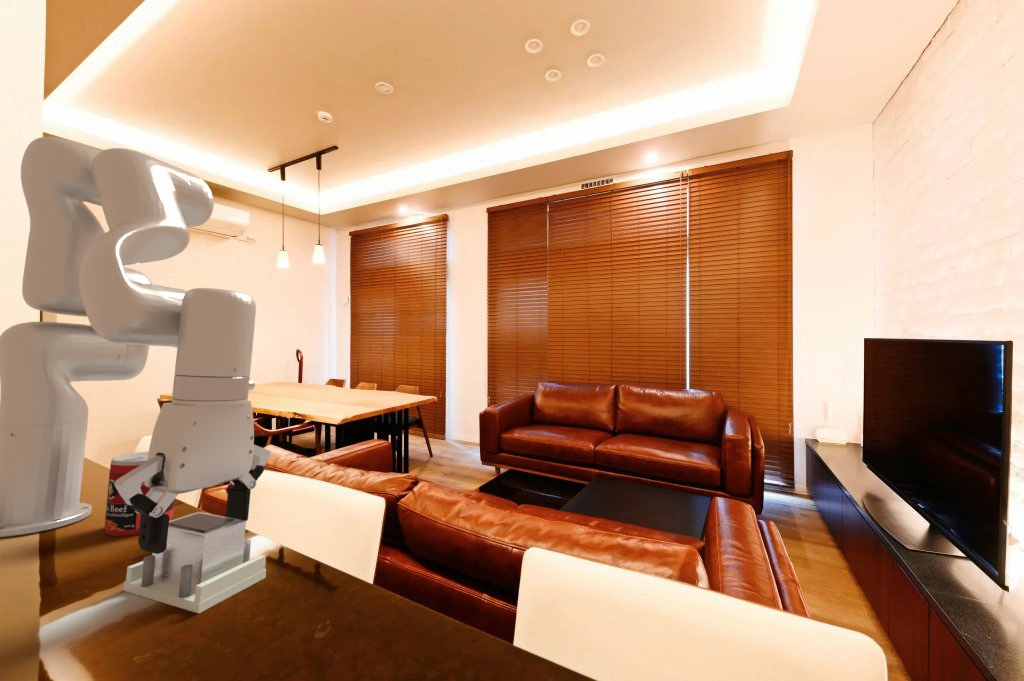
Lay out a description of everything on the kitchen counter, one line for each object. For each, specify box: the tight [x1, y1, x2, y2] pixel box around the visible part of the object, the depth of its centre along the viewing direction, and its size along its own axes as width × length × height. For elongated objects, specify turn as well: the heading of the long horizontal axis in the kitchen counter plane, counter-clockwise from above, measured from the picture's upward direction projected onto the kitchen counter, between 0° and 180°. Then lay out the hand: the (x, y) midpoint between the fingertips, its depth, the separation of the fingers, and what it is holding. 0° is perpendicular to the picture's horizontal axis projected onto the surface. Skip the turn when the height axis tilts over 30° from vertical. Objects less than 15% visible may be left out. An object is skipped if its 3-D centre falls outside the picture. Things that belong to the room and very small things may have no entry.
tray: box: [123, 539, 267, 614], centre depth 49 cm, size 12×8×4 cm, turn 72°
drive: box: [151, 511, 247, 591], centre depth 49 cm, size 8×5×6 cm, turn 72°
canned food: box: [104, 451, 175, 537], centre depth 65 cm, size 8×8×11 cm
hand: (198, 533), depth 49 cm, fingers open, 9 cm apart
